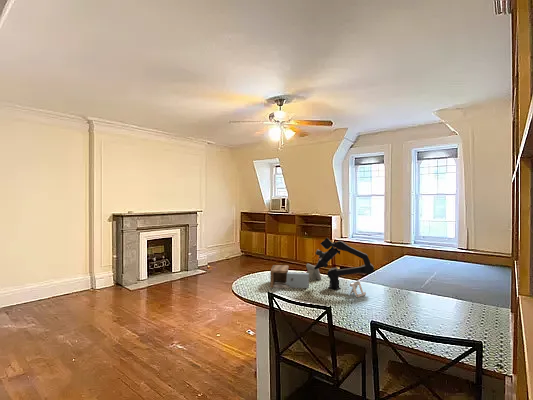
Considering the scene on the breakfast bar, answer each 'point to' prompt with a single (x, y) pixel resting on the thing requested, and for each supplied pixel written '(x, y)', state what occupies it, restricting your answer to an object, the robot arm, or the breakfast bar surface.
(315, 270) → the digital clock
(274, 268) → the cubby cabinet
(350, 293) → the portable electronic device stand
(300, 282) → the gray rectangular box
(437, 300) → the breakfast bar surface
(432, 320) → the breakfast bar surface
